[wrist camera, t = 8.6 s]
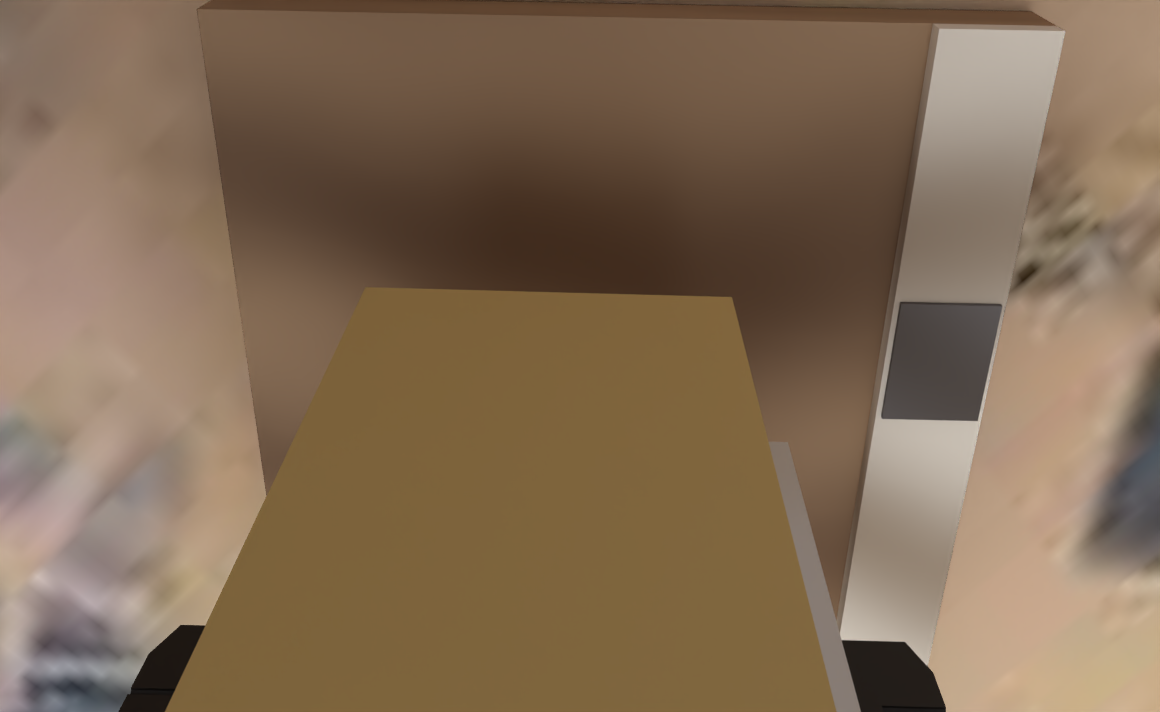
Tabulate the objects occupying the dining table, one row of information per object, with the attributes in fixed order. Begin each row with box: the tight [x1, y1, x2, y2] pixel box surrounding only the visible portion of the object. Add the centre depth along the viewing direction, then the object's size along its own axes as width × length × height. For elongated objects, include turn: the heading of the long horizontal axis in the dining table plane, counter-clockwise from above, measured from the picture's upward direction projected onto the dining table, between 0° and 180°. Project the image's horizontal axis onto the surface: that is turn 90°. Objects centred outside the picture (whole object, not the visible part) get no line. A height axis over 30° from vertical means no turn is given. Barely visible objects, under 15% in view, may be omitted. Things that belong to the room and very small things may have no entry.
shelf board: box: [197, 0, 1065, 667], centre depth 23 cm, size 20×14×2 cm
